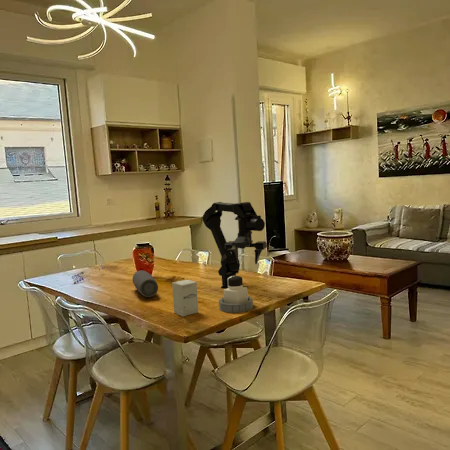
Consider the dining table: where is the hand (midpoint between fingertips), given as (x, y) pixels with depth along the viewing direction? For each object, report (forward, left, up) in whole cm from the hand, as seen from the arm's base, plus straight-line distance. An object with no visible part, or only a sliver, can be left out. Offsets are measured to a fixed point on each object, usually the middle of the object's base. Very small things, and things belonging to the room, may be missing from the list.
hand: (246, 263), depth 197 cm
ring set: (-98, +7, -13) cm, 99 cm away
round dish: (+4, -24, -13) cm, 28 cm away
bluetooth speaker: (-47, -14, -13) cm, 51 cm away
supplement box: (-13, -35, -13) cm, 40 cm away
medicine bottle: (+4, -23, -13) cm, 27 cm away
